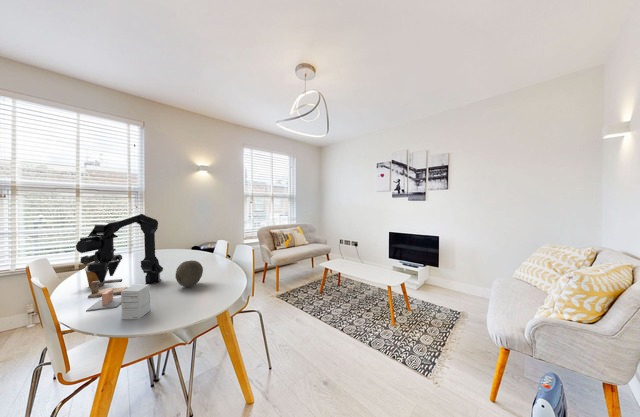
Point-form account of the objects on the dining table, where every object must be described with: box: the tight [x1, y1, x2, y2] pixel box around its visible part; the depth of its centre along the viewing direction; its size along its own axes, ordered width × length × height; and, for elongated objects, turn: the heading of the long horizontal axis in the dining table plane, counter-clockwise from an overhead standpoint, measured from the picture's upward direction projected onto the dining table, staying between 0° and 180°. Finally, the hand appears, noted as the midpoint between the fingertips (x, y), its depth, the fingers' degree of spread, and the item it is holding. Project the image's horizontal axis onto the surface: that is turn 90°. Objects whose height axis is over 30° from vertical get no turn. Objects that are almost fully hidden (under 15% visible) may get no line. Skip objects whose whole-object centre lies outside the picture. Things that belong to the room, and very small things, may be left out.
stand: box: [87, 278, 128, 299], centre depth 121 cm, size 14×8×7 cm, turn 111°
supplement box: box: [120, 284, 151, 320], centre depth 98 cm, size 7×7×13 cm
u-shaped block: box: [101, 288, 114, 306], centre depth 108 cm, size 2×5×6 cm, turn 22°
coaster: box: [85, 296, 121, 312], centre depth 108 cm, size 11×11×1 cm
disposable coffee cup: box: [83, 265, 105, 289], centre depth 130 cm, size 10×10×12 cm
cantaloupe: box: [175, 259, 204, 288], centre depth 132 cm, size 14×14×15 cm
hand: (106, 279), depth 110 cm, fingers open, 9 cm apart
